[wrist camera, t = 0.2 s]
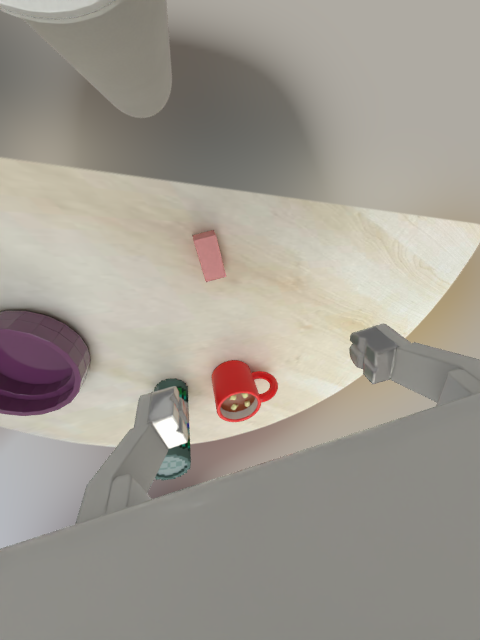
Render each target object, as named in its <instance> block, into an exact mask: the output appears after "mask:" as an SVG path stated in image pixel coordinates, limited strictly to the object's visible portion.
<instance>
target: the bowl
mask: <svg viewBox="0 0 480 640" xmlns="http://www.w3.org/2000/svg"><path fill="white" fill-rule="evenodd" d="M90 360H91V359H90V355H89V351H88V347H87V346H86V344H85V343H84V341H83V340H82V338H81V337H80V335H78V334H77V333H76V332H75V331H73V330H72V329H71V328H70V327H68V326H67V325H66V324H64V323H62V322H60V321H58V320H56V319H53V318H51V317H49V316H47V315H42V314H38V313H33V312H29V311H2V312H0V413H1V414H9V415H19V416H29V415H41V414H45V413H48V412H52V411H55V410H58V409H60V408H62V407H64V406H65V405H67V404H68V403H70V402H71V401H72V400H73V399H74V397H75V396H76V395H77V394H78V392H79V391H80V388H81V386H82V384H83V382H84V379H85V377H86V375H87V372H88V369H89V365H90Z"/></svg>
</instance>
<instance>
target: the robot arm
mask: <svg viewBox="0 0 480 640" xmlns="http://www.w3.org/2000/svg"><path fill="white" fill-rule="evenodd" d="M350 341H351V342H352V343H353V344H352V345H351V347H350V357H351V359H352V361H353V363H354V364H355V365H356V366H357V367H358V368H361V369H363V374H364V375H365V376H366V377H367V379H368V380H369V381H370V382H371V383H372V384H376V383H379V382H383V381H386V380H390V379H391V380H392V381H394V382H396V383H398V384H400V385H402V386H404V387H406V388H408V389H410V390H412V391H414V392H417V393H419V394H421V395H423V396H425V397H427V398H429V399H431V400H433V401H435V402H437V405H436V407H433V408H430V409H427V410H424V411H420V412H417V413H414V414H411V415H408V416H405V417H402V418H399V419H396V420H393V421H390V422H387V423H384V424H381V425H378V426H375V427H372V428H368V429H366V430H363V431H360V432H356V433H353V434H350V435H348V436H344V437H341V438H338V439H335V440H332V441H329V442H326V443H323V444H320V445H317V446H314V447H311V448H307V449H304V450H301V451H298V452H296V453H293V454H289V455H286V456H283V457H280V458H277V459H274V460H271V461H268V462H264V463H261V464H258V465H255V466H252V467H249V468H246V469H243V470H240V471H237V472H234V473H231V474H228V475H225V476H222V477H219V478H216V479H212V480H209V481H206V482H203V483H200V484H197V485H194V486H191V487H188V488H185V489H182V490H179V491H176V492H173V493H170V494H167V495H163V496H161V497H157V498H154V499H151V497H150V496H149V495H148V494H147V493H148V491H149V489H150V487H151V485H152V483H153V481H154V479H155V477H156V475H157V473H158V471H159V469H160V467H161V464H162V462H163V460H164V458H165V456H166V454H167V452H168V449H170V448H173V447H176V446H179V445H182V444H185V443H188V429H187V426H186V424H185V422H186V421H187V411H186V406H185V403H184V401H183V399H182V398H180V397H179V391H178V389H177V387H176V386H173V387H169V388H166V389H162V390H158V391H155V392H152V393H148V394H145V395H141V396H140V398H139V401H138V407H137V413H136V418H135V424H134V428H133V429H130V430H129V432H128V433H127V434H126V435H125V437H124V438H123V439H122V441H121V442H120V443H119V444H118V446H117V447H116V448H115V450H114V451H113V452H112V453H111V455H110V456H109V457H108V459H107V460H106V461H105V463H104V464H103V465H102V466H101V468H100V469H99V470H98V471H97V473H96V474H95V475H94V477H93V478H92V479H91V480H90V482H89V483H88V484H87V486H86V489H85V493H84V497H83V500H82V503H81V507H80V510H79V513H78V517H77V521H76V524H75V525H72V526H69V527H66V528H63V529H59V530H56V531H53V532H50V533H47V534H44V535H41V536H38V537H35V538H32V539H29V540H26V541H23V542H20V543H17V544H14V545H11V546H7V547H4V548H1V549H0V640H480V360H479V359H476V358H472V357H468V356H464V355H461V354H457V353H453V352H449V351H445V350H442V349H438V348H434V347H430V346H426V345H422V344H419V343H415V342H414V343H410V342H409V341H408V340H406V339H405V338H404V337H402V336H401V335H400V334H398V333H397V332H396V331H394V330H393V329H392V328H390V327H389V326H388V325H386V324H379V325H376V326H373V327H370V328H367V329H364V330H360V331H357V332H354V333H352V334H351V335H350Z"/></svg>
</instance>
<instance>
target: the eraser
mask: <svg viewBox="0 0 480 640" xmlns="http://www.w3.org/2000/svg"><path fill="white" fill-rule="evenodd" d="M193 240H194V244H195V247H196V251H197V254H198V257H199V261H200V264H201V267H202V271H203V274H204V277H205V281H206V282H208V281H212V280H216V279H219V278H223V277H226V273H225V269H224V265H223V261H222V257H221V253H220V249H219V245H218V241H217V237H216V234H215V232H214V230H211V231H207V232H203V233H200V234H196V235H193Z"/></svg>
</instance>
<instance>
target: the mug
mask: <svg viewBox="0 0 480 640" xmlns="http://www.w3.org/2000/svg"><path fill="white" fill-rule="evenodd" d="M254 379H265V380H267V381H268V382H269V383H270V388H269V390H268V391H267V392H265V393H263V394H259V393H258V390H257V387H256V385H255V382H254ZM212 384H213V390H214V397H215V403H216V409H217V413H218V415H219V417H220V418H221V419H223V420H225V421H229V422H240V421H244V420H246V419H249V418H250V417H252V416H253V415H255V414H256V413H257V411H258V410H259V408H260V406H261V402H265V401H268V400H270V399H271V398H272V397H273V396H274V395H275V394H276V392H277V389H278V383H277V381H276V379H275V378H274V376H272V375H271V374H269V373H267V372H263V371H256V372H252V373H251V370H250V368H249V366H248V365H247V364H246V363H244V362H241V361H237V360H232V361H227V362H224V363H222V364H220V365H219V366H218V367H217V368H216V369H215V370H214V371H213V374H212Z"/></svg>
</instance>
